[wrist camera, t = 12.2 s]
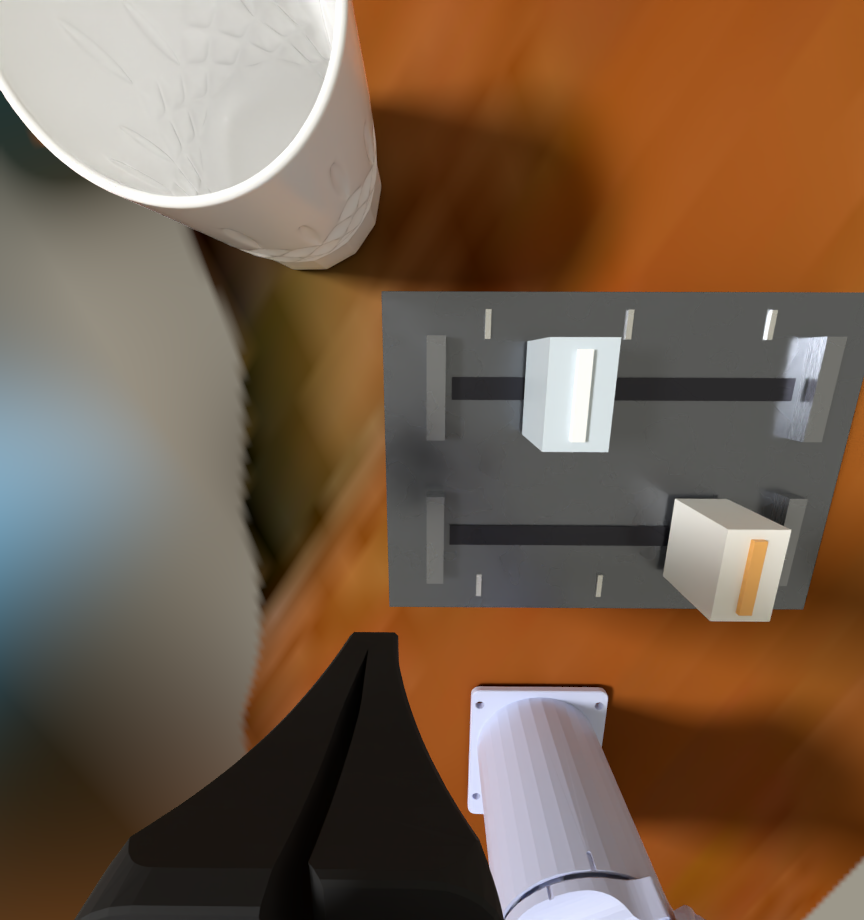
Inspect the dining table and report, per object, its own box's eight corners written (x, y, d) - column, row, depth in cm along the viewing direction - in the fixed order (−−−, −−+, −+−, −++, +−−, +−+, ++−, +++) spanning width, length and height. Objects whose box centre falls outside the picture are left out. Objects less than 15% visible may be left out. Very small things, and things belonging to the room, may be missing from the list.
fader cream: (712, 576, 20) (773, 624, 16) (662, 575, 20) (713, 624, 16) (726, 498, 19) (795, 532, 15) (675, 498, 19) (732, 531, 15)
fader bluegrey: (575, 434, 18) (610, 453, 14) (522, 434, 18) (543, 453, 14) (584, 341, 17) (624, 337, 13) (527, 341, 17) (552, 336, 14)
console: (771, 587, 22) (817, 619, 20) (393, 585, 23) (387, 616, 20) (838, 299, 19) (907, 289, 16) (387, 298, 19) (379, 288, 16)
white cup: (338, 43, 17) (203, -405, 7) (425, 233, 18) (414, 91, 9) (180, 143, 17) (-138, -127, 8) (276, 315, 19) (113, 272, 9)
